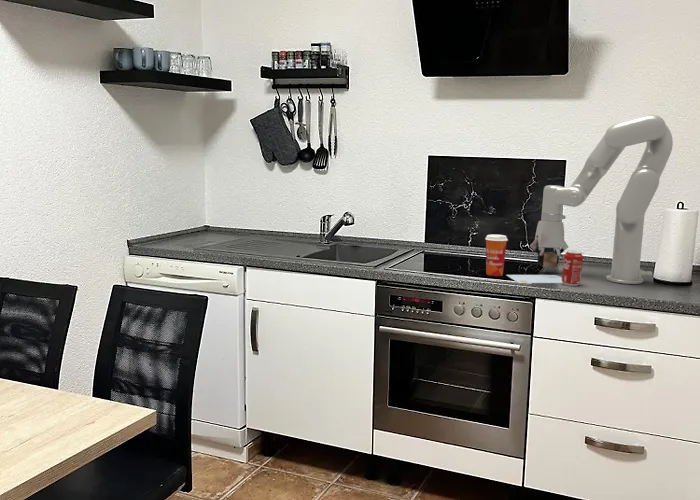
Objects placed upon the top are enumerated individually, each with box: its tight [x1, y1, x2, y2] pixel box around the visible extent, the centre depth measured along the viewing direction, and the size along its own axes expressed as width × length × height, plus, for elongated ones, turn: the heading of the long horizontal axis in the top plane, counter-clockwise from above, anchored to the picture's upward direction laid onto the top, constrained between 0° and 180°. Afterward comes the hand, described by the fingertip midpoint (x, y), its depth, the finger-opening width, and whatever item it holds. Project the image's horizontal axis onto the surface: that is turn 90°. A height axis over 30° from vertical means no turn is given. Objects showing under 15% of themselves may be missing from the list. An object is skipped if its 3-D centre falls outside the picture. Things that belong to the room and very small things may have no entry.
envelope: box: [505, 274, 564, 284], centre depth 254 cm, size 20×15×1 cm
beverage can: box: [561, 249, 584, 287], centre depth 244 cm, size 6×6×12 cm
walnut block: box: [541, 251, 558, 268], centre depth 265 cm, size 5×5×5 cm
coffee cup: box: [484, 233, 509, 277], centre depth 260 cm, size 8×8×15 cm
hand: (547, 265), depth 266 cm, fingers closed on walnut block, 5 cm apart
